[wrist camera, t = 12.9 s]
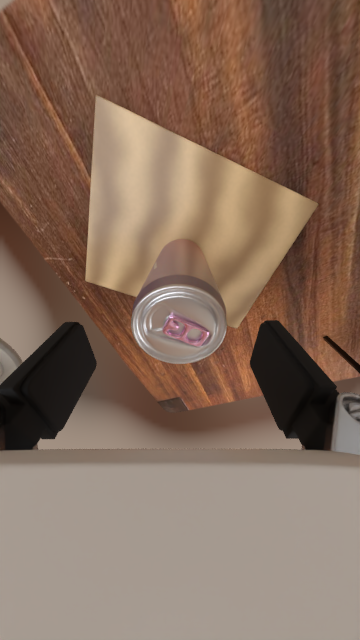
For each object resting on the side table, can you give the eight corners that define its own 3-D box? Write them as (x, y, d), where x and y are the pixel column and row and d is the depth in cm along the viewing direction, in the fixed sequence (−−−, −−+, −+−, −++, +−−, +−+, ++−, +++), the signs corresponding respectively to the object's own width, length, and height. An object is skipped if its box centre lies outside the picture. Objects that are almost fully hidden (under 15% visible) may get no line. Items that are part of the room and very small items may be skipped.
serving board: (90, 276, 26) (85, 281, 24) (103, 104, 17) (95, 93, 15) (234, 322, 30) (237, 328, 28) (309, 203, 21) (319, 203, 19)
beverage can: (191, 291, 25) (198, 376, 12) (152, 273, 24) (115, 348, 11) (213, 251, 22) (252, 310, 9) (170, 228, 21) (148, 261, 8)
